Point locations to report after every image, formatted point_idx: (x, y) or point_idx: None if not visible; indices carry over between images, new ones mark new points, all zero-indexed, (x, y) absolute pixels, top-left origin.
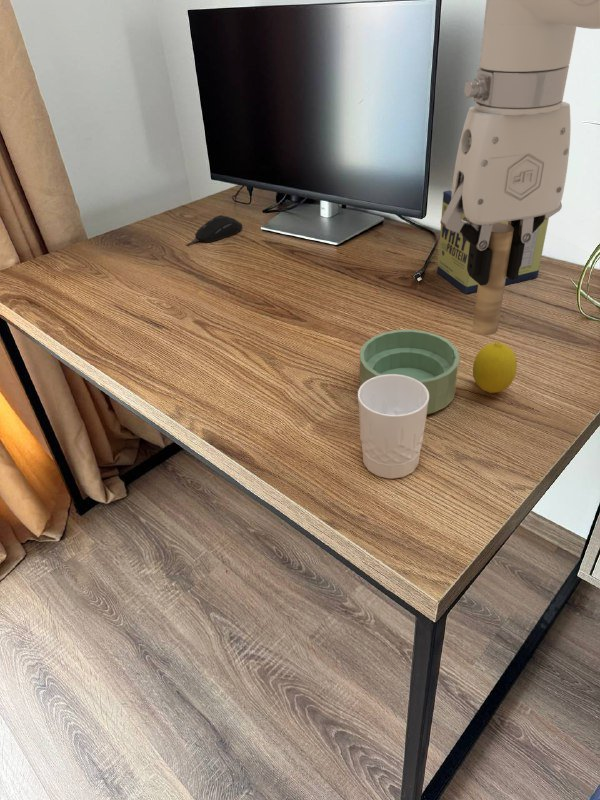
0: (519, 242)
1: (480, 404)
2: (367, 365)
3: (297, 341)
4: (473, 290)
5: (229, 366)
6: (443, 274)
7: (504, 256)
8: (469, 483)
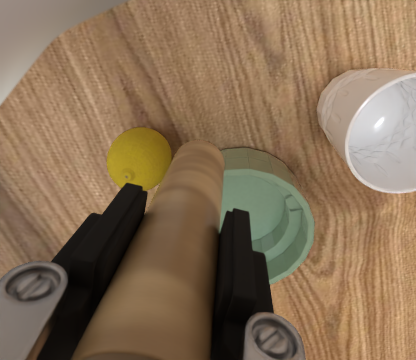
0: (69, 282)
1: (178, 133)
2: (307, 244)
3: None
4: None
5: (377, 336)
6: None
7: (164, 253)
8: (304, 9)
